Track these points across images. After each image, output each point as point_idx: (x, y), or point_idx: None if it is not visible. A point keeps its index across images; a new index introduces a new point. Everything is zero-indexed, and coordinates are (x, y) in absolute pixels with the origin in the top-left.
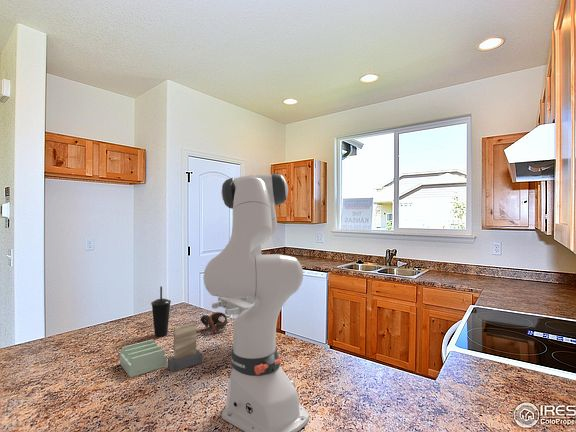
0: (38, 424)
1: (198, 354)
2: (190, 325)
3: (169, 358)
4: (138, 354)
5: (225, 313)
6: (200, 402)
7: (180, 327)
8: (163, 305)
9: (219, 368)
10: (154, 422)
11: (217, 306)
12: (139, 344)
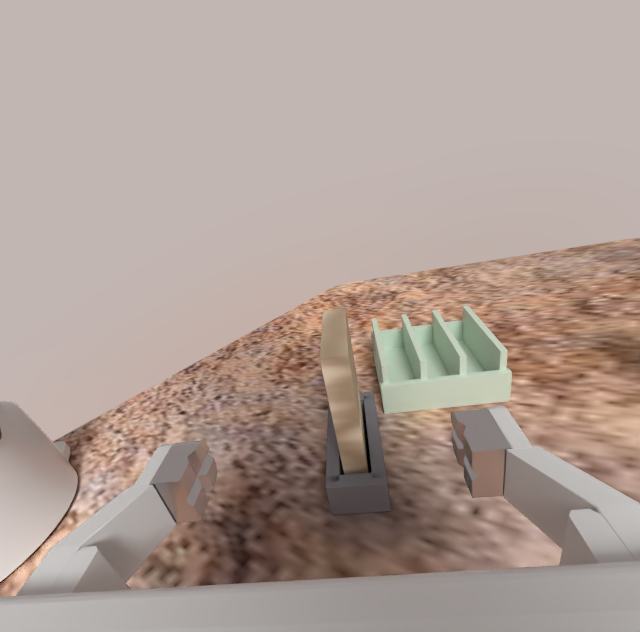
0: (317, 298)
1: (326, 472)
2: (321, 343)
3: (363, 394)
4: (406, 331)
5: (207, 463)
6: (150, 433)
7: (323, 319)
8: None
9: (227, 552)
10: (191, 371)
11: (469, 472)
12: (480, 330)
